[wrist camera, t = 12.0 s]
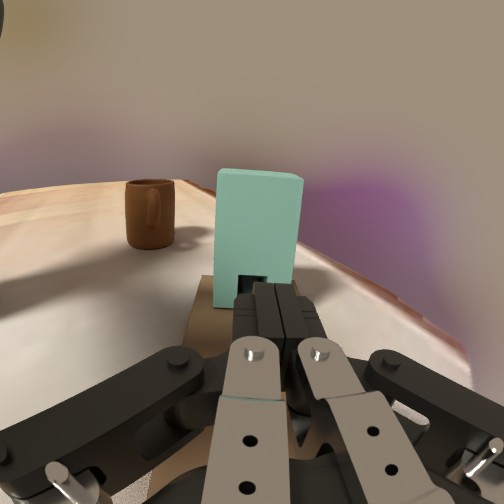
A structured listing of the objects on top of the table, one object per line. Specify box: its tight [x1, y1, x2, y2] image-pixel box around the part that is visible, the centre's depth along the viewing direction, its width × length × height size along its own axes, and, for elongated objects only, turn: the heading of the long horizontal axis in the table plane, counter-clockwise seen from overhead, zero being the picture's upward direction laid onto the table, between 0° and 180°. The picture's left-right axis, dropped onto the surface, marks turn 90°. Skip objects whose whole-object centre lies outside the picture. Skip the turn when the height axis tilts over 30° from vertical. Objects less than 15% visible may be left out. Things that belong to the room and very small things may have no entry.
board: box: [147, 275, 300, 499], centre depth 20 cm, size 26×10×1 cm, turn 2°
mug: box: [125, 179, 175, 249], centre depth 40 cm, size 12×8×9 cm, turn 24°
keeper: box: [213, 168, 304, 308], centre depth 25 cm, size 5×6×11 cm
